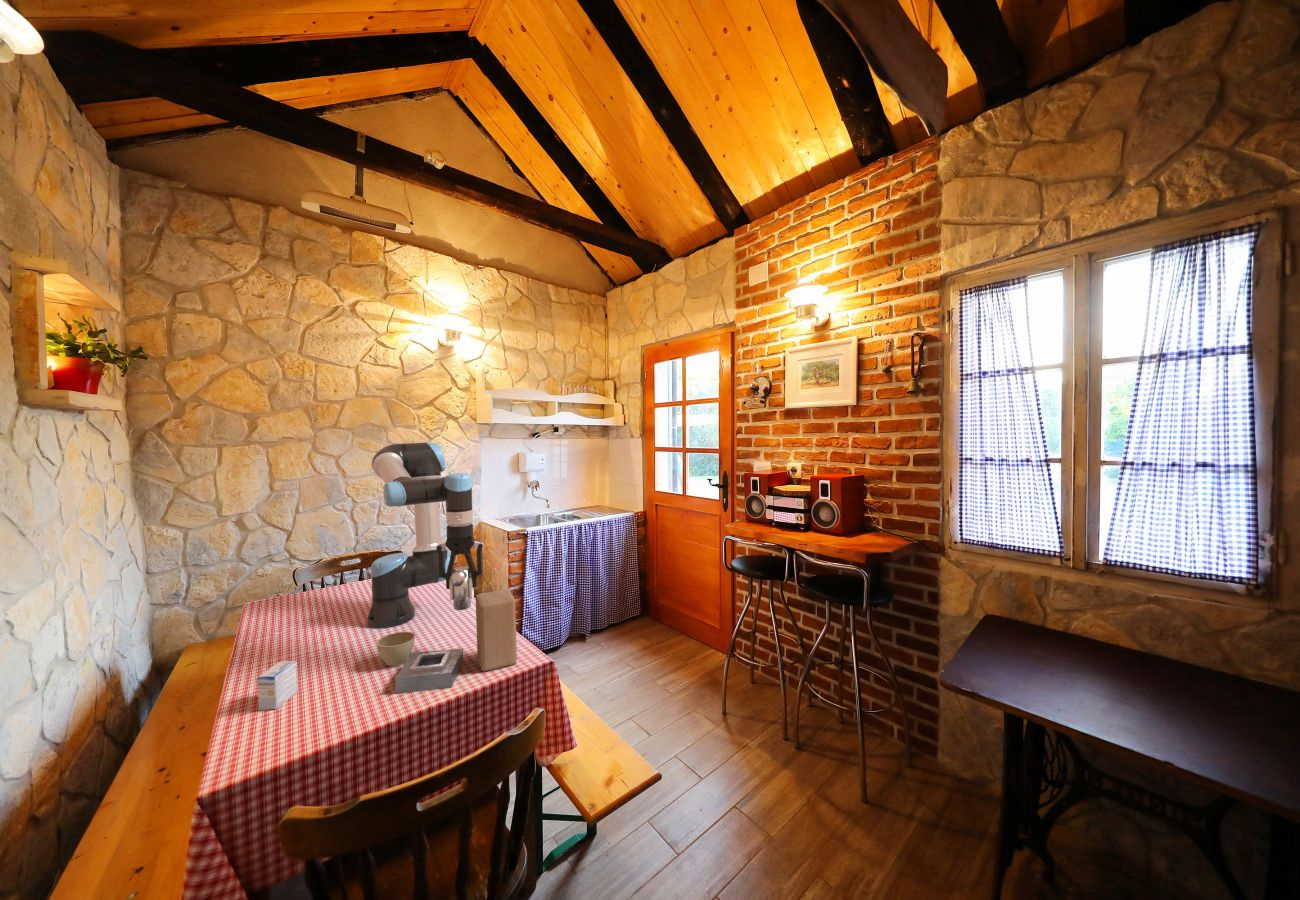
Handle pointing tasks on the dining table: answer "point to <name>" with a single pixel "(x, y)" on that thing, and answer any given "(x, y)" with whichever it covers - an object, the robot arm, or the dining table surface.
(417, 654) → the duct socket
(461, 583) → the elbow
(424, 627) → the dining table surface
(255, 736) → the dining table surface
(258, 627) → the dining table surface
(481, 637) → the block
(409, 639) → the flower pot
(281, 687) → the medicine box
